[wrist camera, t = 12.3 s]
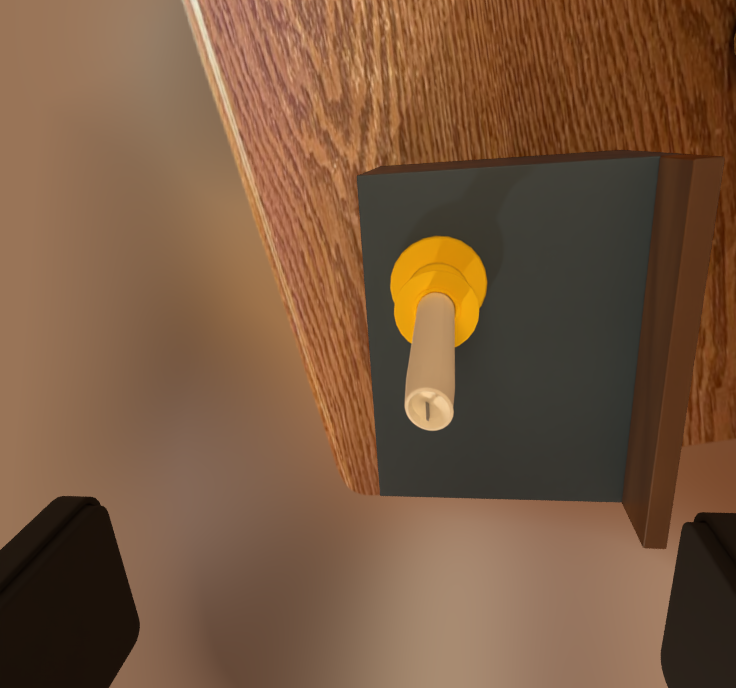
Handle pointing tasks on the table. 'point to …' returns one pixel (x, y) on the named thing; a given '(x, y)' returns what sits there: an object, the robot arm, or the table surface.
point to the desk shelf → (550, 325)
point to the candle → (435, 320)
